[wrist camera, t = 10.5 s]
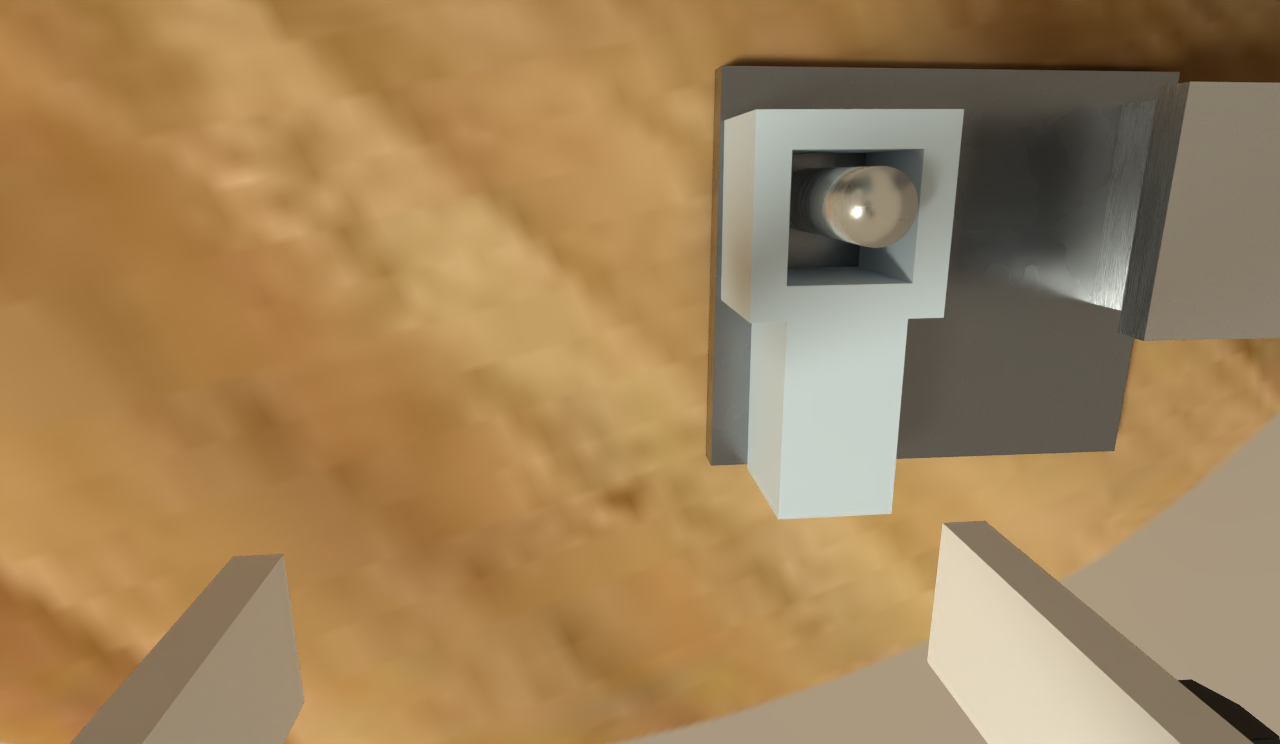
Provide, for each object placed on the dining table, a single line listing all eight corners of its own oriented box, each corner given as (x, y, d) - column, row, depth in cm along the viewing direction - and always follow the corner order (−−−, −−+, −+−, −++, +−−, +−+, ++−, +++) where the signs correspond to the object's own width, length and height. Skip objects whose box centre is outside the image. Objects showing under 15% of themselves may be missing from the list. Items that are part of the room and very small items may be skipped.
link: (724, 120, 23) (756, 109, 19) (899, 119, 23) (964, 108, 20) (717, 470, 26) (743, 521, 22) (872, 462, 26) (924, 511, 23)
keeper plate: (715, 69, 24) (772, 29, 17) (1156, 75, 25) (1366, 40, 18) (706, 454, 27) (750, 544, 20) (1095, 441, 28) (1255, 522, 22)
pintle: (781, 167, 24) (843, 166, 18) (842, 168, 24) (921, 166, 18) (778, 232, 24) (837, 248, 19) (838, 231, 24) (914, 247, 19)
